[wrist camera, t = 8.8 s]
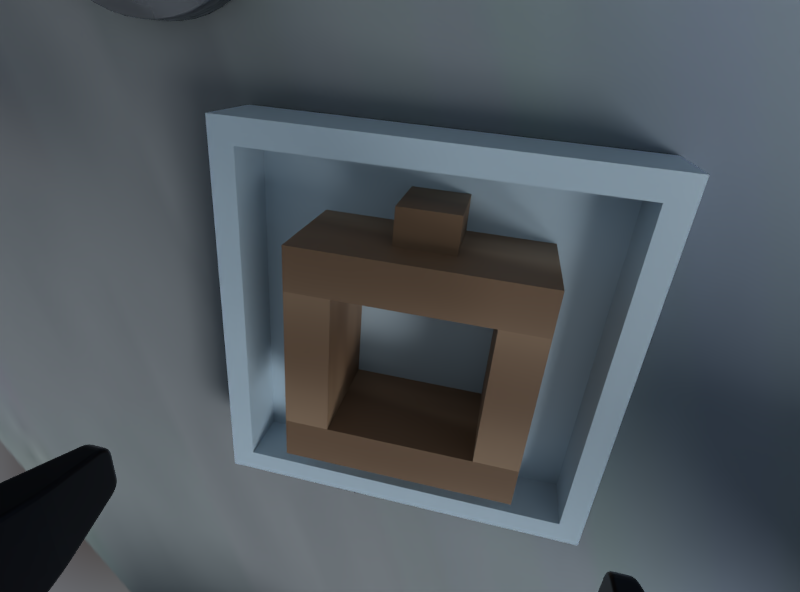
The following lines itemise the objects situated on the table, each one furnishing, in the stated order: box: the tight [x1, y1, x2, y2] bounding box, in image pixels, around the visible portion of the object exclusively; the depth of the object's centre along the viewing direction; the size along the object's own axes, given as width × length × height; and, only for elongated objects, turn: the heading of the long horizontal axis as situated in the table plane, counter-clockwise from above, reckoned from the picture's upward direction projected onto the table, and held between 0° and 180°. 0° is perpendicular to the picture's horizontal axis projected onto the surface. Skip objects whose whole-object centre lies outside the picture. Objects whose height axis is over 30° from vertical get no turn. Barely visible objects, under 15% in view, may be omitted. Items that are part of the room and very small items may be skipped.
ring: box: [281, 186, 565, 505], centre depth 14 cm, size 7×6×3 cm
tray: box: [205, 105, 709, 546], centre depth 15 cm, size 11×11×2 cm
